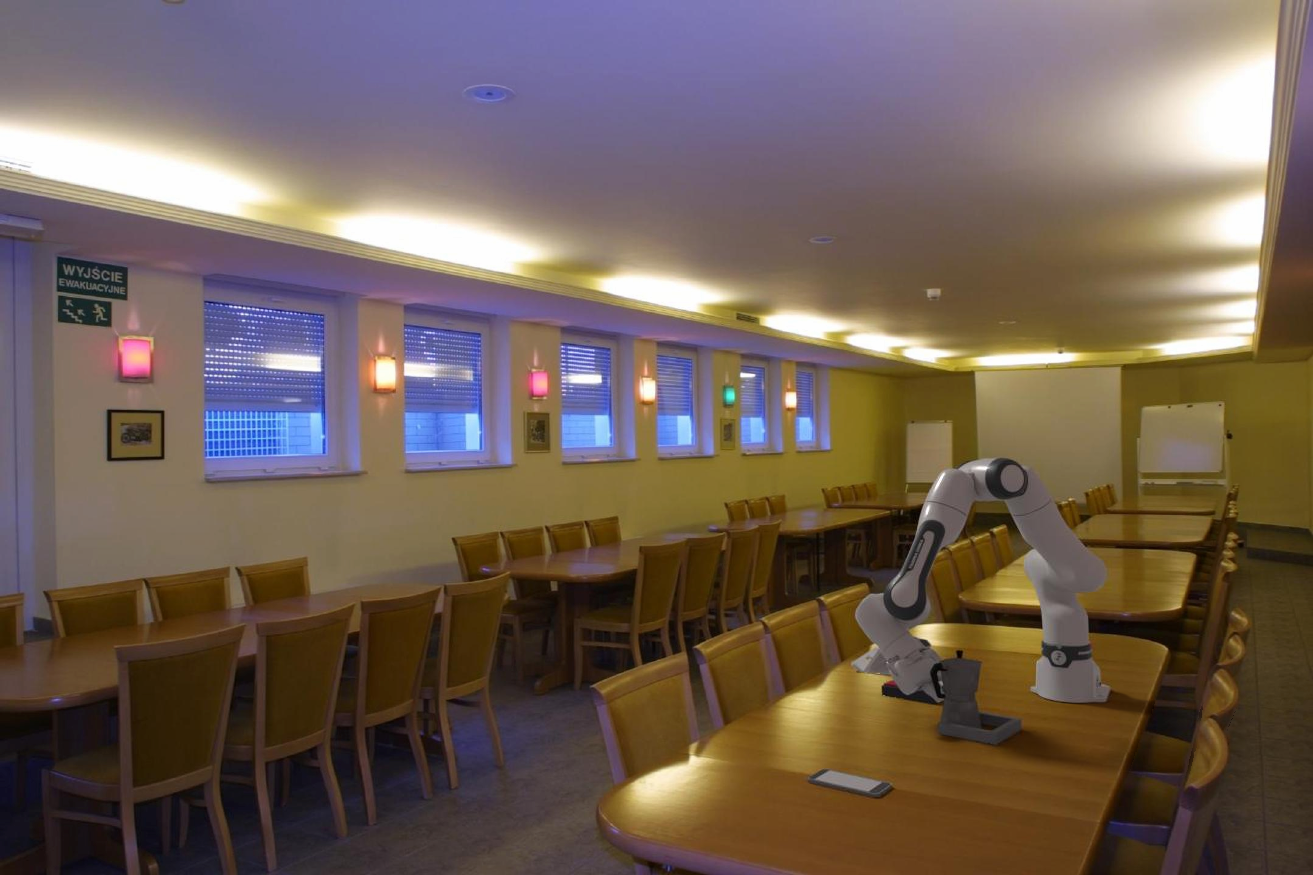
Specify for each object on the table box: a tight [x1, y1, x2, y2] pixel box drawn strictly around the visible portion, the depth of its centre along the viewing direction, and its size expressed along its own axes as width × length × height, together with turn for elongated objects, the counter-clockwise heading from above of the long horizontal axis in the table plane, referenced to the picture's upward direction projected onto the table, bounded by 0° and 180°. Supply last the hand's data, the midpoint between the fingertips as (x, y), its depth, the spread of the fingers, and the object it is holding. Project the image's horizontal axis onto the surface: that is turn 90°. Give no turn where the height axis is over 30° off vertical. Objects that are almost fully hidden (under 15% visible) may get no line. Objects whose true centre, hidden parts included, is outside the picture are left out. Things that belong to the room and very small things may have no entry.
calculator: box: [881, 679, 946, 705], centre depth 242 cm, size 11×4×15 cm
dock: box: [937, 711, 1023, 746], centre depth 209 cm, size 15×14×2 cm
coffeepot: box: [930, 649, 983, 729], centre depth 212 cm, size 15×9×18 cm, turn 115°
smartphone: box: [807, 768, 893, 798], centre depth 176 cm, size 7×1×15 cm
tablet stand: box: [850, 646, 890, 676], centre depth 277 cm, size 18×25×17 cm
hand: (942, 699), depth 215 cm, fingers closed, pressing on coffeepot
